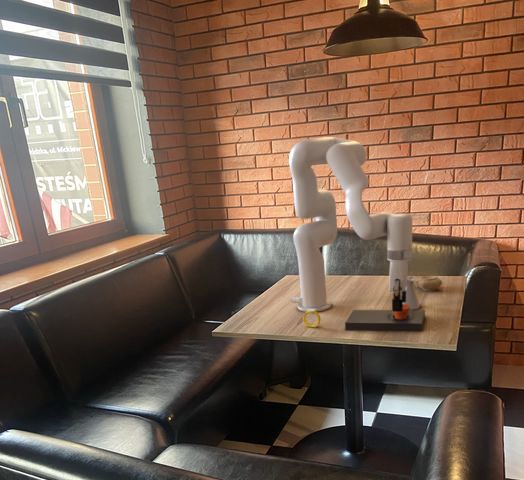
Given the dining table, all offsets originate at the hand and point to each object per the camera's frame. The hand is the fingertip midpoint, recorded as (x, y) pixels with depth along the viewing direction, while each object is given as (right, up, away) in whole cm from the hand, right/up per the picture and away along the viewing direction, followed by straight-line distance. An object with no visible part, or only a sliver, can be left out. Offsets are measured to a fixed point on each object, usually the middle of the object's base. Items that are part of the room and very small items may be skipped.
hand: (399, 306), depth 174 cm
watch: (-27, -6, +8) cm, 29 cm away
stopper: (+1, -5, +2) cm, 6 cm away
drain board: (-4, -5, +3) cm, 7 cm away
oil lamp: (+19, +10, +38) cm, 43 cm away
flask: (+8, +1, +17) cm, 19 cm away
